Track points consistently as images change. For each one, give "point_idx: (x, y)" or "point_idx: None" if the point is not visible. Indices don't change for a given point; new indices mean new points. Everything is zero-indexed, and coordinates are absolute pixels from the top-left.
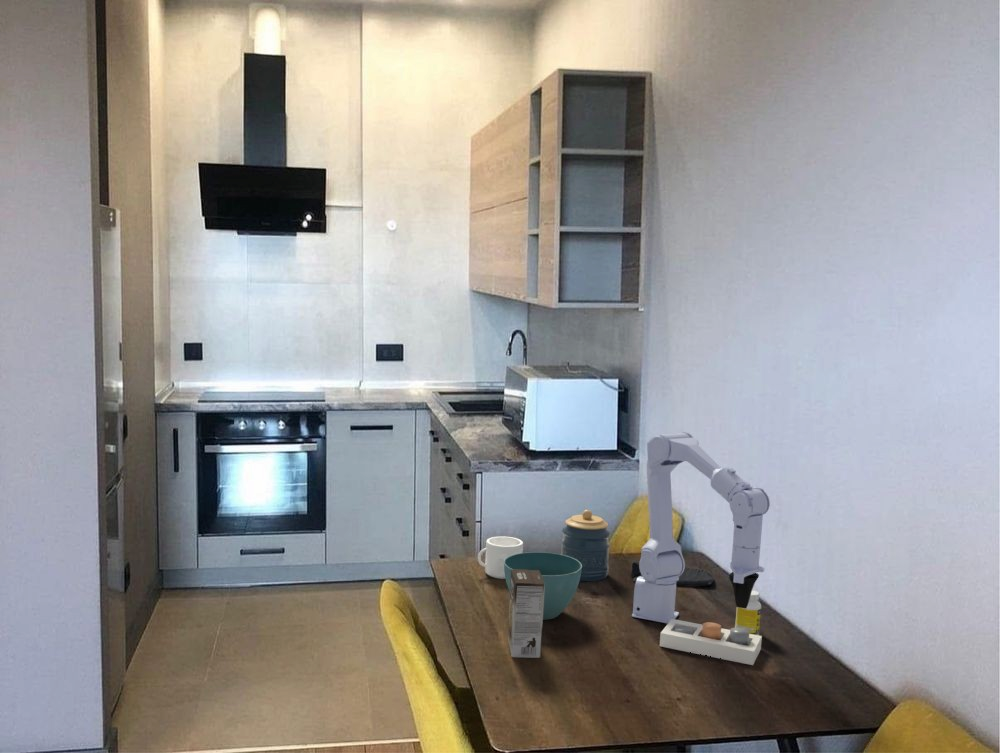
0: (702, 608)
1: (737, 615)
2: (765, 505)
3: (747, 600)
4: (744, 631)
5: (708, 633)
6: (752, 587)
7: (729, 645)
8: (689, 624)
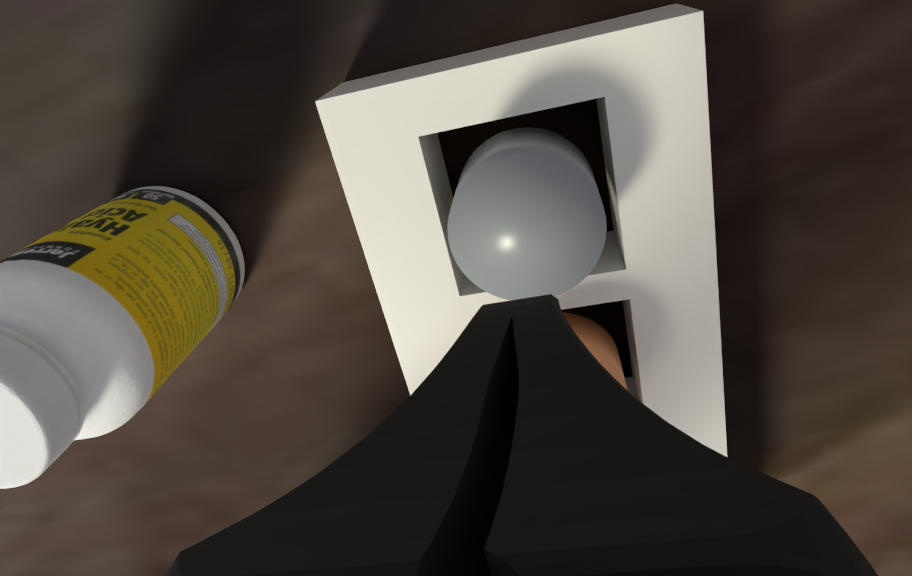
0: (76, 525)
1: (180, 362)
2: None
3: (578, 339)
4: (509, 199)
5: None
6: (474, 441)
7: (689, 217)
8: None
